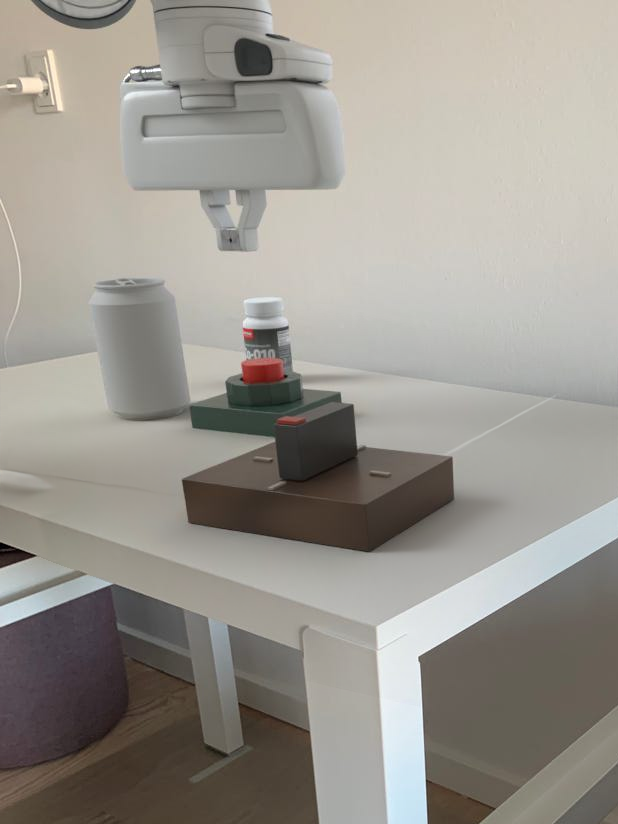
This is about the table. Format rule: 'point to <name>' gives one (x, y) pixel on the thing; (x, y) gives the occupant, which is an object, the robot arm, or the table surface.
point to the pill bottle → (267, 330)
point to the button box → (257, 405)
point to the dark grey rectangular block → (315, 440)
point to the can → (139, 348)
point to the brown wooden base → (322, 496)
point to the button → (262, 370)
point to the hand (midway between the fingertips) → (238, 251)
